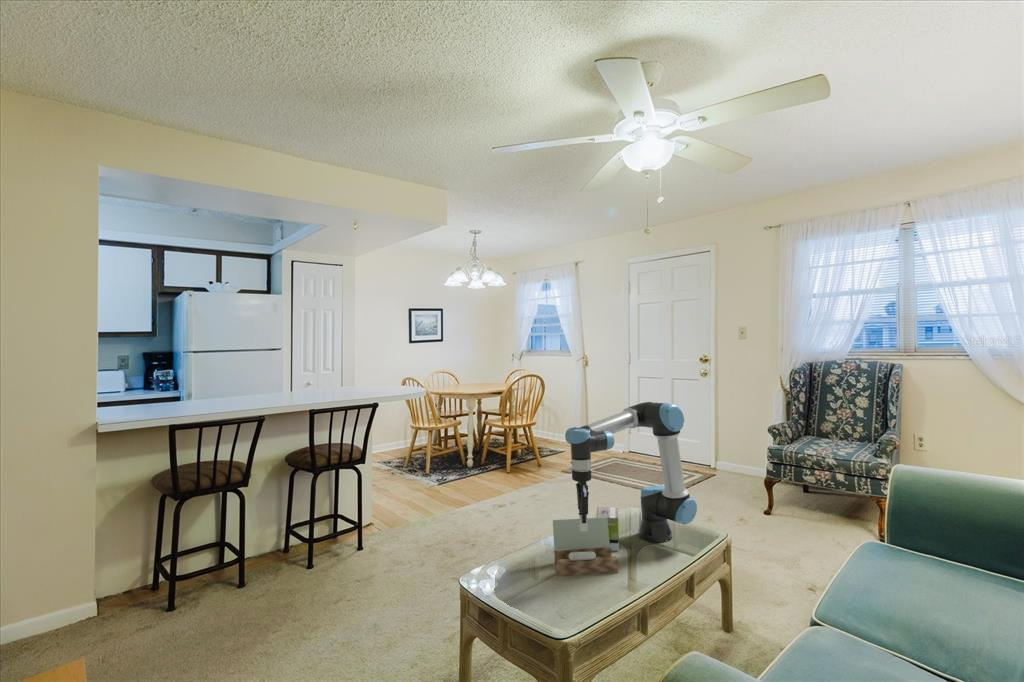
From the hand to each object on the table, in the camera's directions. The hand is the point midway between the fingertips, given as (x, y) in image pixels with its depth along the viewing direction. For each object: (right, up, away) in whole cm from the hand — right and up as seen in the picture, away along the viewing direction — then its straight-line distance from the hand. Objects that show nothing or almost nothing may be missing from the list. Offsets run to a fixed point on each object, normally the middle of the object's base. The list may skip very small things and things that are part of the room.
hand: (583, 530), depth 185 cm
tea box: (+16, -20, +33) cm, 42 cm away
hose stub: (0, -13, +6) cm, 14 cm away
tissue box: (+2, -20, +11) cm, 22 cm away
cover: (+2, -8, +18) cm, 20 cm away
